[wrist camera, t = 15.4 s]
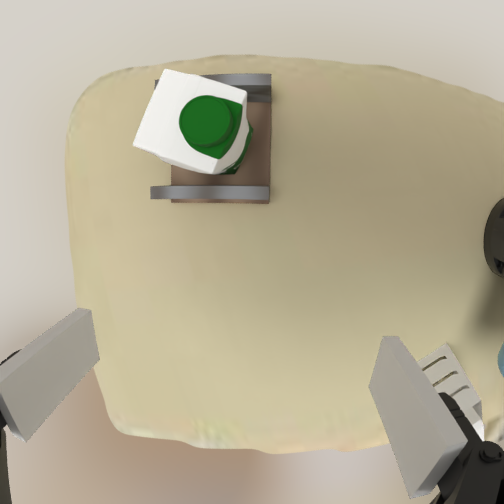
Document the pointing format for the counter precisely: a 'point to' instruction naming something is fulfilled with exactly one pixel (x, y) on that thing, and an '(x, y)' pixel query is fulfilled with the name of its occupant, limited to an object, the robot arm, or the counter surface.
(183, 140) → the soya milk
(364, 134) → the counter surface
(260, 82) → the carton caddy
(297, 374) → the counter surface
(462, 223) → the counter surface
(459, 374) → the grater
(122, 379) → the counter surface
